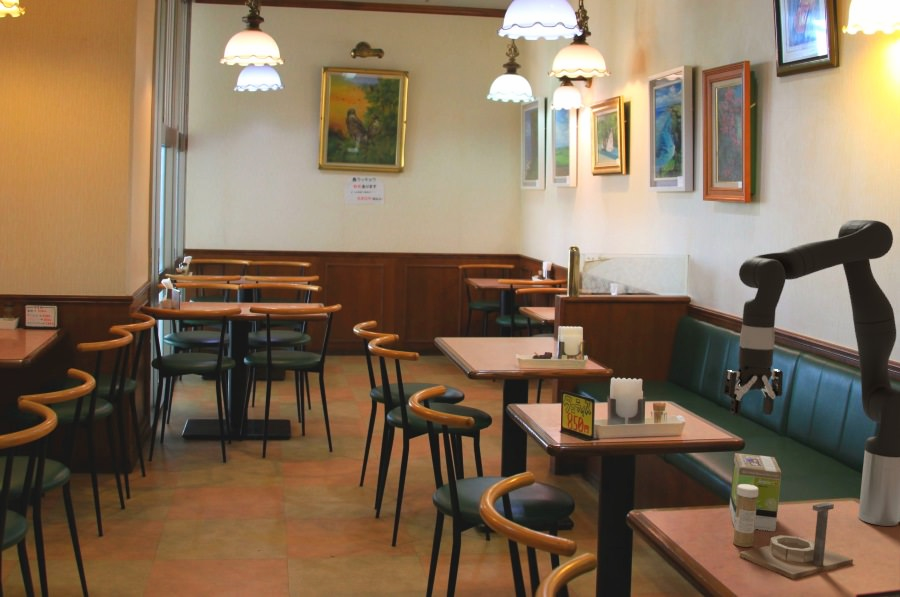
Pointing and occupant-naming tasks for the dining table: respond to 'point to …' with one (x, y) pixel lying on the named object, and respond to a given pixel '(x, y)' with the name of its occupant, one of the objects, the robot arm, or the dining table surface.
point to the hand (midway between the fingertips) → (751, 414)
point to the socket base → (792, 565)
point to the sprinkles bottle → (745, 515)
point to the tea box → (767, 480)
